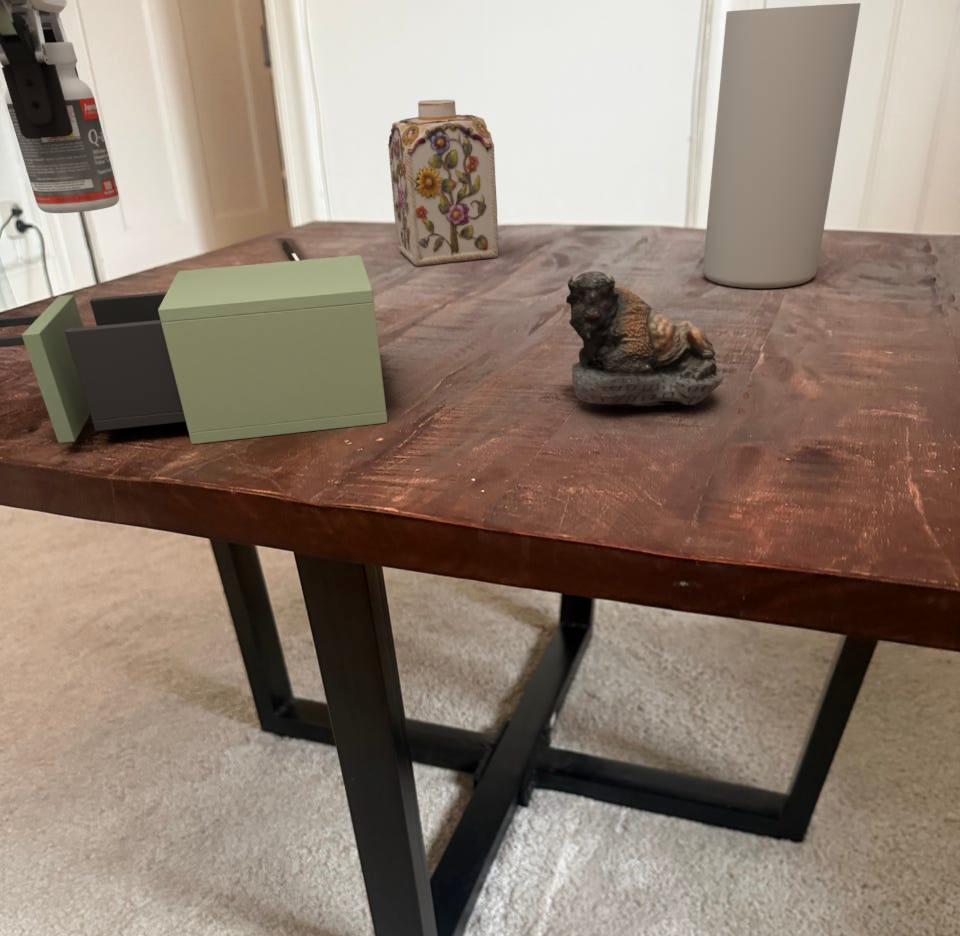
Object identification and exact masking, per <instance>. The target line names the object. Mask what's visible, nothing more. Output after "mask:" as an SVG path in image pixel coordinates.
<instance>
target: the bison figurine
mask: <svg viewBox="0 0 960 936" xmlns="http://www.w3.org/2000/svg"><path fill="white" fill-rule="evenodd" d="M567 287H568V290H569V294H568V295H567V296H566V300H565V303H566V304H569V305H570V319H569V321H568V323H569V325H570V326H571V327H572V328H573V330H574V331H575V332H576V334H577V335H578V336H579V338H581V341H582V346H583V347H581V348H580V350H579V352H578V360H579V362H574V363H573V364H572V365H571V381H572V385H573V390H574V395H575V396H576V398H577V399H578V400H579V401H581V402H584V403H586V404H590V405H596V406H614V407H615V406H616V407H617V406H618V407H637V408H638V407H641V408H642V407H663V406H665V407H666V406H667V407H668V406H694V405H697V404H698V403H700V402H702V401H703V400H704V399H706V398H707V397H708V396H709V395H711V394H712V393H713V392H715V390H716V389H717V388H718V387H719V386H720V384H722V382H723V380H724V376H723V374H722V373H721V372H719V371H718V370H717V369H718V366H717V364H716V362H717V361H716V358H715V355H716V351H715V349H714V347H713V342H712V341H711V340H709V337H708V335H707V334H706V332H705V330H703V329H701V328H699V327H697V326H695V325H694V324H693V322H691V321H689V320H683V321H676V320H675V321H674V320H671V319H670V318H668V317H667V316H666V315H665V314H662V313H661V312H660V311H658V310H656V309H654V308H653V307H652V306H651V305H649V304H648V303H647V302H646V301H645V300H644V299H642V298H641V297H640V296H638V295H637V294H636V293H634V292H632V291H631V290H629V289H626V288H623V287H622V286H619V285H616V280H615V277H614V276H613V274H610V278H609V277H608V276H607V275H606V274H605V273H604V272H602V271H595V270H591V271H585V272H582V273H581V274H579V275H578V276H577V277H575V278H574V275H570V276H569V278H568V279H567Z"/></svg>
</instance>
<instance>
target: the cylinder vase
mask: <svg viewBox="0 0 960 936" xmlns="http://www.w3.org/2000/svg"><path fill="white" fill-rule="evenodd" d="M860 11H861V3H860V2H856V3H837V4H836V3H835V4H833V3H832V4H817V5H799V6H784V7H768V8H754V9H753V8H751V9H740V10H738V9H737V10H728V11H726V13H725V14H726V16H725V23H724V37H723V45H722V46H723V47H722V56H721V68H720V80H719V89H718V90H719V91H718V102H717V113H716V120H715V121H716V124H715V131H714V132H715V134H714V143H713V154H712V155H713V156H712V165H711V166H712V167H711V177H710V185H709V186H710V189H709V196H708V197H709V198H708V210H707V221H706V231H705V242H704V250H703V251H704V253H703V262H702V264H703V265H702V273H703V275H704V277H705V278H706V279H707V280H709V281H710V282H712V283H715V284H718V285H722V286H726V287H733V288H741V289H780V288H781V289H782V288H787V287H794V286H798V285H801V284H804V283H807V282H809V281H811V280H812V279H813V278H814V277H815V276H816V274H817V272H818V267H819V261H820V257H821V249H822V243H823V237H824V233H825V232H824V231H825V224H826V220H827V219H826V218H827V213H828V208H829V207H828V206H829V200H830V195H831V189H832V181H833V176H834V168H835V165H836V164H835V163H836V158H837V150H838V145H839V138H840V134H841V133H840V132H841V127H842V120H843V114H844V108H845V102H846V96H847V90H848V85H849V78H850V71H851V67H852V66H851V65H852V59H853V52H854V47H855V40H856V35H857V28H858V23H859V16H860Z"/></svg>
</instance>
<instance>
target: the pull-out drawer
mask: <svg viewBox="0 0 960 936" xmlns="http://www.w3.org/2000/svg"><path fill="white" fill-rule="evenodd" d="M167 292H168V291H157V292H147V293H137V294H127V295H126V294H125V295H114V296H104V297H103V296H102V297H93V298H91V299H89V303H90V307H91V310H92V311H91V312H92V314H93V317H94V321H95V324H96V325H94V326H84V324H83V320H82V318H81V314H80V311H79V308H78V304H77V301H76V297H75V295H74V294H65V295H58V296H57V297H56V299H55V300H54V301H52V302H51V304H50V305H48V307H46V309H45V310H44V311H43V312H42V313H37V314H29V315H28V314H27V315H18V316H17V315H16V316H7V317H6V316H4V317H0V328H1V329H2V328H10V327H21V326H22V327H23V326H29V327H28V328H27V329H26V330H25V331H24V332H23V333H22V334H15V335H6V336H0V348H7V347H16V346H25V349H26V351H27V355H28V357H29V360H30V363H31V366H32V369H33V372H34V375H35V378H36V381H37V384H38V387H39V390H40V392H41V396H42V398H43V401H44V404H45V407H46V410H47V413H48V416H49V419H50V422H51V425H52V428H53V431H54V434H55V436H56V440H57V442H58V444H67V443H74V442H76V441H77V438H78V437H79V435H80V434H81V432H82V431H83V430H82V429H83V428H84V426H85V425H86V423H87V421H88V419H89V417H90V418H91V420H92V424H93V427H94V428H93V429H94V430H95V432H103V431H110V430H111V431H112V430H121V429H131V428H138V427H139V428H140V427H150V426H159V425H167V424H176V423H177V424H178V423H186V420H185V416H184V412H183V408H182V404H181V400H180V396H179V392H178V388H177V384H176V380H175V376H174V372H173V368H172V364H171V360H170V356H169V352H168V348H167V344H166V340H165V336H164V332H163V328H162V324H161V323H162V322H161V320H160V316H159V312H158V309H159V307H160V305H161V303H162V301H163V299H164V297H165V295H166V294H167Z"/></svg>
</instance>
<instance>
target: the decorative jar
mask: <svg viewBox="0 0 960 936" xmlns="http://www.w3.org/2000/svg"><path fill="white" fill-rule="evenodd" d="M417 109H418V111H417V113H418V116H417V117H416V116H415V117H410V118H405V119H401V120H399V121H396V122H395V121H394V122H393V123H392V125H391V128H390V135H389V137H388V144H387V146H388V157H389V170H390V180H391V181H390V182H391V191H392V203H393V215H394V222H395V224H394V225H395V231H396V232H395V233H396V240H397V241H396V243H397V247H398V251H399V252H400V253H401V254H402V256H404V257H405V258H406V259H407V260H409V261H410V262H412V264H413V265H414V266H415V267H422V266H423V267H424V266H432V265H441V264H449V263H458V262H459V263H460V262H467V261H476V260H485V259H494V258H495V259H496V258H498V256H499V227H498V226H499V225H498V201H497V200H498V199H497V198H498V197H497V183H496V163H495V162H496V161H495V159H496V158H495V144H494V141H493V138H492V135H491V132H490V131H489V129H488V127H487V124H486V122H485V119H484V118H482V117H480V116H477V115H473V114H457V112H456V101H455V100H454V99H425V100H419V101H418V103H417Z"/></svg>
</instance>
